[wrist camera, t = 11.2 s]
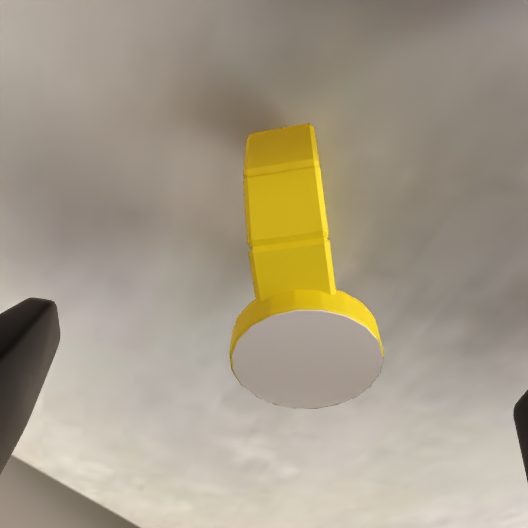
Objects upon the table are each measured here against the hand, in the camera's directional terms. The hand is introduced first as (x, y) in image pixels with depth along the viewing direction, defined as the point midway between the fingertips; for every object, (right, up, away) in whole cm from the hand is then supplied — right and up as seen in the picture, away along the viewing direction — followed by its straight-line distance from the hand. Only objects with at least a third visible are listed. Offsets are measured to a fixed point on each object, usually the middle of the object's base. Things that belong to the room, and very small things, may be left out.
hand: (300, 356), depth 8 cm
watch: (0, +4, +5) cm, 6 cm away
